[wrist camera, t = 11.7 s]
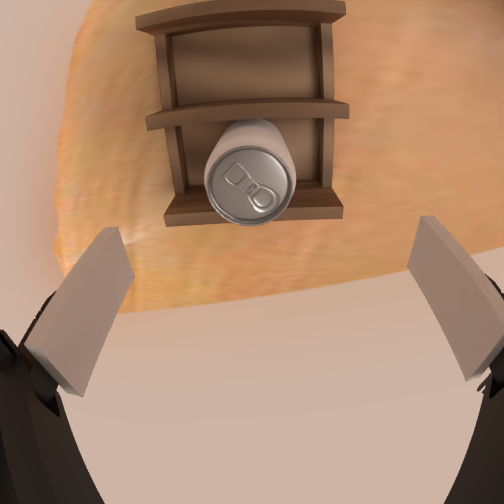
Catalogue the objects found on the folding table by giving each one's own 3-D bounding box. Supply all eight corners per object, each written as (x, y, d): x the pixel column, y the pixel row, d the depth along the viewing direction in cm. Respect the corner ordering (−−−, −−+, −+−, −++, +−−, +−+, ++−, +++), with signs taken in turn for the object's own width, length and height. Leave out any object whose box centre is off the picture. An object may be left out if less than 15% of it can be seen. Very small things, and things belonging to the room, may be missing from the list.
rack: (165, 27, 21) (135, 12, 14) (321, 16, 20) (344, -3, 14) (185, 195, 32) (166, 230, 26) (323, 188, 32) (342, 222, 25)
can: (254, 186, 30) (253, 248, 21) (208, 149, 28) (180, 192, 18) (296, 145, 28) (320, 186, 18) (249, 103, 25) (244, 117, 15)
